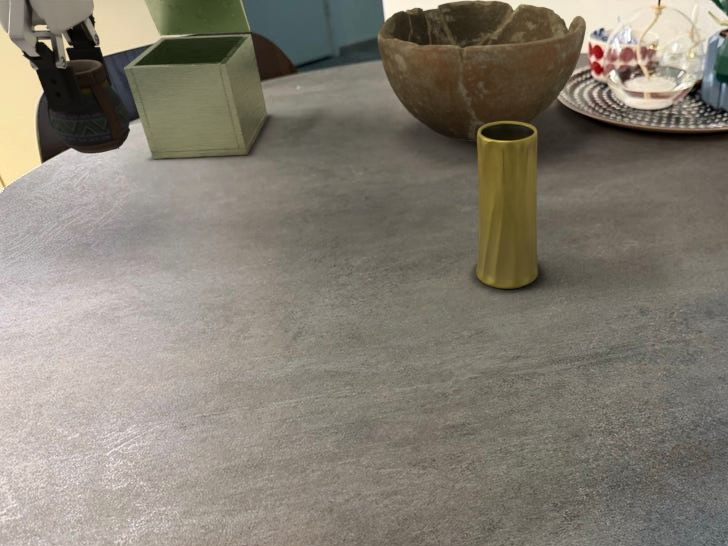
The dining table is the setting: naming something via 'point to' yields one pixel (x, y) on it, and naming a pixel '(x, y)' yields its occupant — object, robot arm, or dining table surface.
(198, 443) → the dining table surface
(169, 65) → the bin
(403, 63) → the bowl
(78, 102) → the robot arm
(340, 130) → the dining table surface
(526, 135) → the vase
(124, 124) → the mate gourd
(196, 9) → the bin lid
